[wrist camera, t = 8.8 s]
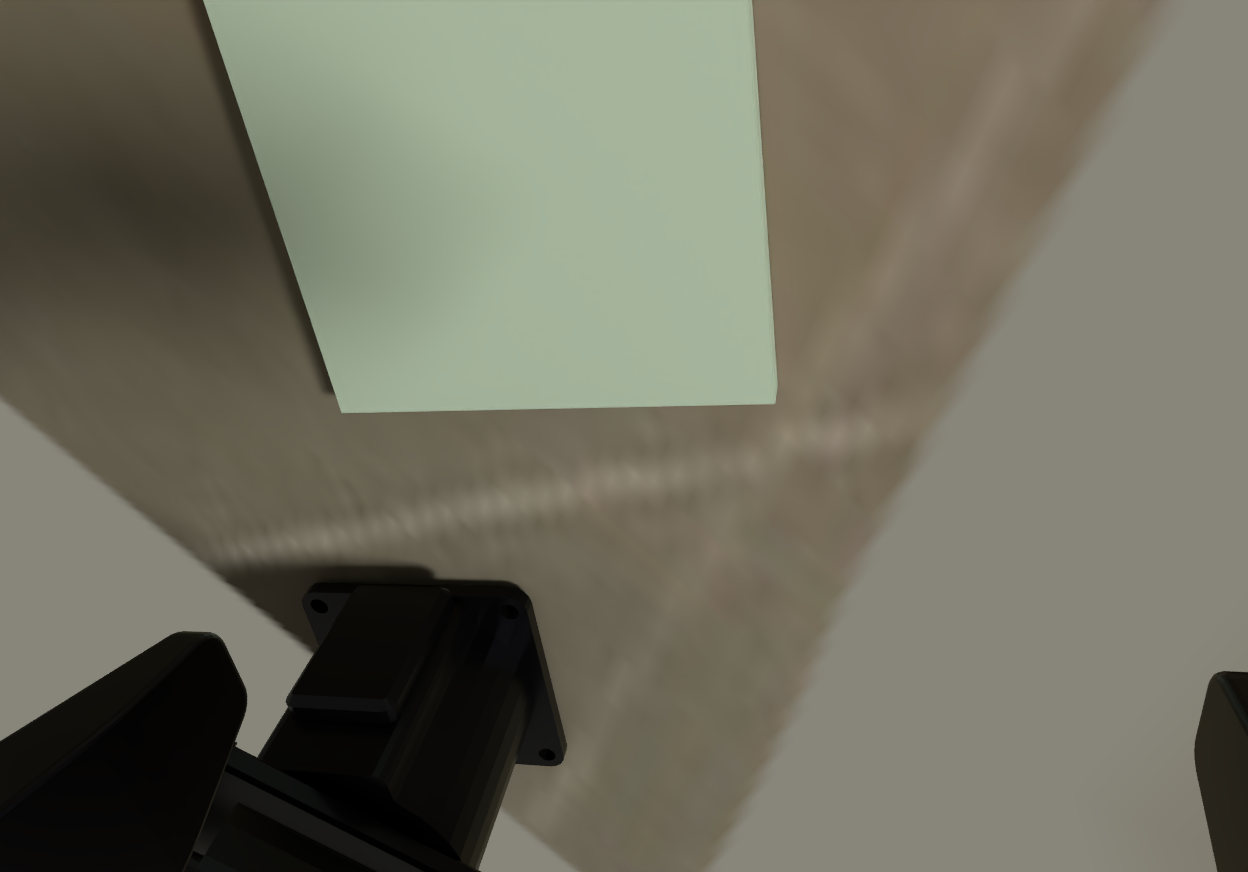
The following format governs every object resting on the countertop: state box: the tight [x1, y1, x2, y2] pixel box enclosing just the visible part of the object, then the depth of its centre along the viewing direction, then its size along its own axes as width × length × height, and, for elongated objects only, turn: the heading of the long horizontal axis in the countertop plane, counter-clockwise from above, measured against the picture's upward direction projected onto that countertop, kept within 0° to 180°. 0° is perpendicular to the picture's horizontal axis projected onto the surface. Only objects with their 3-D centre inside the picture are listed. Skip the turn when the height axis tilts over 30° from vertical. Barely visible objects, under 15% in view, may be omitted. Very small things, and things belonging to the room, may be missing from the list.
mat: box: [203, 0, 778, 413], centre depth 20 cm, size 10×10×1 cm
